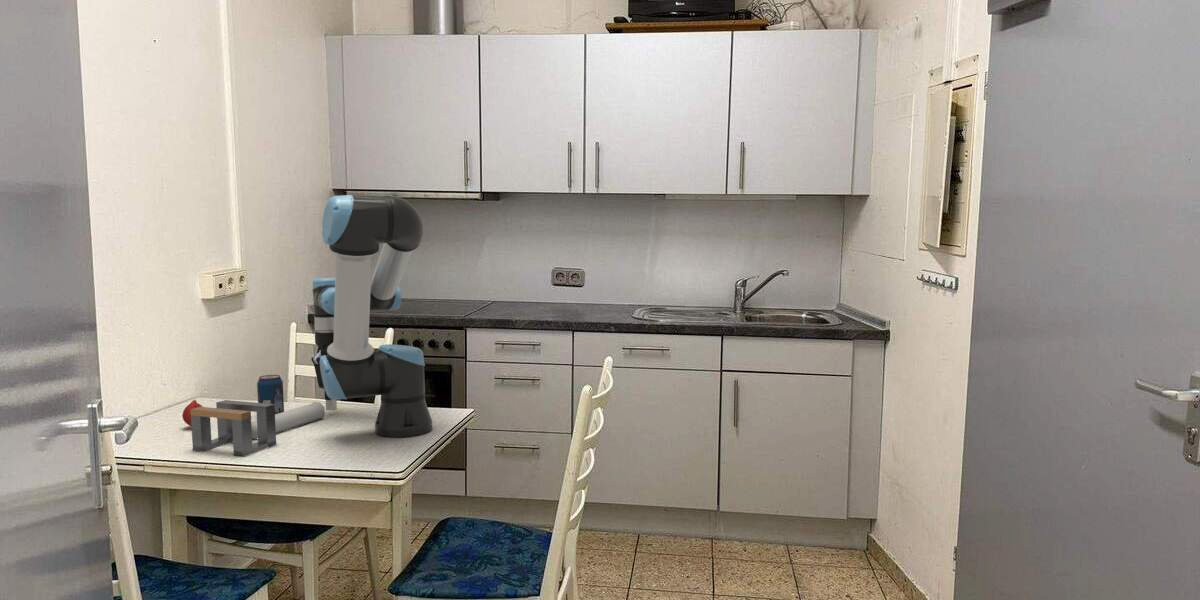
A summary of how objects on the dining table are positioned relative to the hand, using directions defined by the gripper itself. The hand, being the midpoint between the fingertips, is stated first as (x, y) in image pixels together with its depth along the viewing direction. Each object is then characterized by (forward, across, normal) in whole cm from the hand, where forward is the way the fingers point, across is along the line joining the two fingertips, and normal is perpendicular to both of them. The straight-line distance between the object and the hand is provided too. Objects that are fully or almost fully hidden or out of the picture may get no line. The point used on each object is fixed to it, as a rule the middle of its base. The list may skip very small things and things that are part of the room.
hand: (331, 409), depth 234 cm
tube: (+2, +18, -1) cm, 18 cm away
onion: (+2, +25, -26) cm, 36 cm away
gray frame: (+1, +37, 0) cm, 37 cm away
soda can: (+2, +8, -15) cm, 17 cm away
